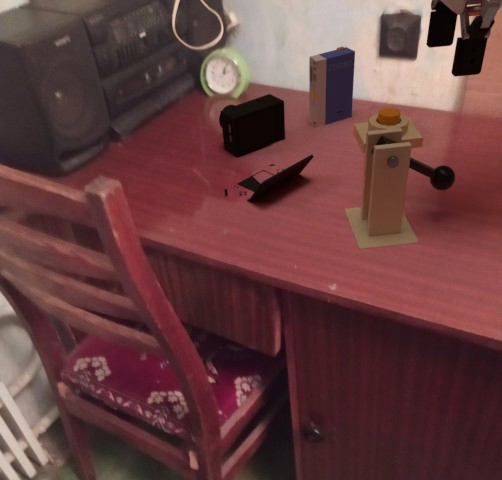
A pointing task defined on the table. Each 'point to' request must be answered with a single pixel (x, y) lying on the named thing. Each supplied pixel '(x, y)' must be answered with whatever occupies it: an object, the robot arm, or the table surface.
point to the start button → (389, 116)
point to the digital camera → (252, 124)
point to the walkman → (331, 86)
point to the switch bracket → (383, 193)
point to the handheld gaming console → (272, 179)
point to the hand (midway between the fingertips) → (451, 59)
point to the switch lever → (428, 170)
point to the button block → (405, 124)
